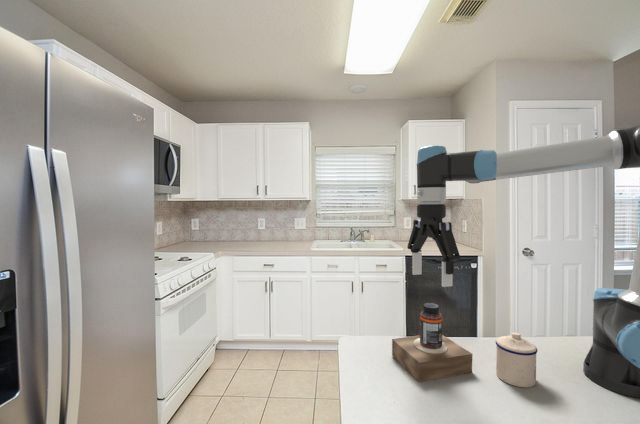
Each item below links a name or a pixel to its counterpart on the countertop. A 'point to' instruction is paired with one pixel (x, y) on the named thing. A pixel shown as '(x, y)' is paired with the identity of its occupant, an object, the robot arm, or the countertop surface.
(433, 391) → the countertop surface
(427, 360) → the walnut stand
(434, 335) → the supplement bottle
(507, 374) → the cream ceramic oval pot
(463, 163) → the robot arm
